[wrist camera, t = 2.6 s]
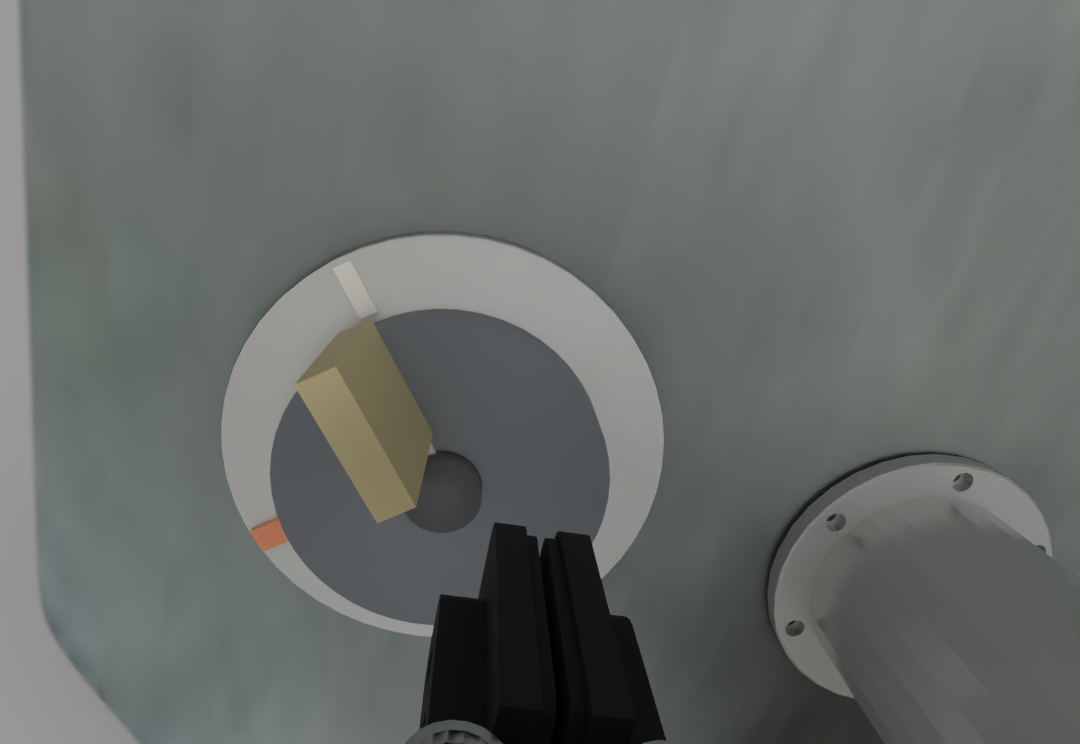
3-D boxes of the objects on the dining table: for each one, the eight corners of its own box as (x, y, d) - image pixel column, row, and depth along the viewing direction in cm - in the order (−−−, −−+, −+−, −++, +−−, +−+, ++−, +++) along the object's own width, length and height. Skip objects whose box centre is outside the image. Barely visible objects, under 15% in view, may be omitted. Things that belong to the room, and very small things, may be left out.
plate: (739, 418, 28) (755, 436, 26) (476, 675, 32) (475, 706, 30) (414, 130, 24) (408, 129, 22) (151, 465, 27) (128, 487, 25)
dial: (645, 525, 27) (693, 647, 21) (380, 633, 28) (344, 783, 22) (520, 241, 23) (529, 280, 17) (216, 377, 24) (111, 465, 18)
